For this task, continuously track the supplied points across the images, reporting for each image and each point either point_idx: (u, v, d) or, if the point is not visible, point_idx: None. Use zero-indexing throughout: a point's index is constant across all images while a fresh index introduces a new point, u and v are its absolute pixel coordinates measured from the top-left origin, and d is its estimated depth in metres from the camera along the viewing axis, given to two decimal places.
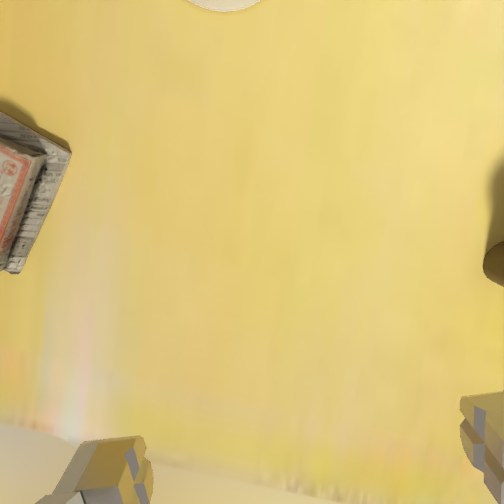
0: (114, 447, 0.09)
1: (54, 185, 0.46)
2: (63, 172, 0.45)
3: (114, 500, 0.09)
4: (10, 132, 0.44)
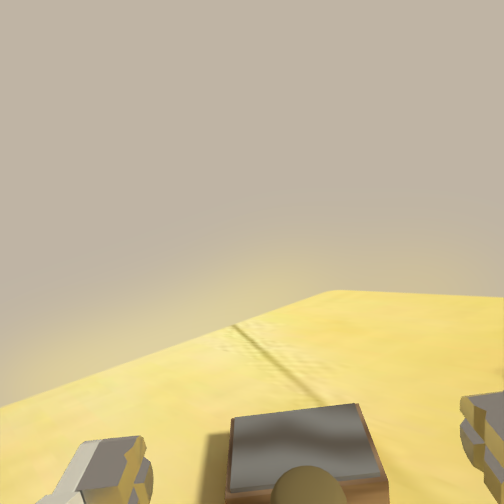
0: (114, 447, 0.09)
1: None
2: None
3: (114, 500, 0.09)
4: None
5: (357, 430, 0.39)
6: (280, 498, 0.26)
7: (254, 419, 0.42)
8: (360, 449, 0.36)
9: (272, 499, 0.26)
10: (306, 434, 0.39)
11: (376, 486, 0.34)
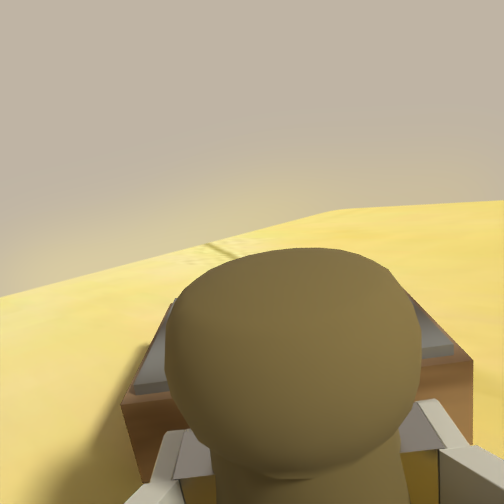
0: None
1: None
2: None
3: (211, 489, 0.08)
4: None
5: None
6: (193, 295, 0.08)
7: None
8: None
9: (171, 311, 0.08)
10: None
11: (446, 374, 0.15)
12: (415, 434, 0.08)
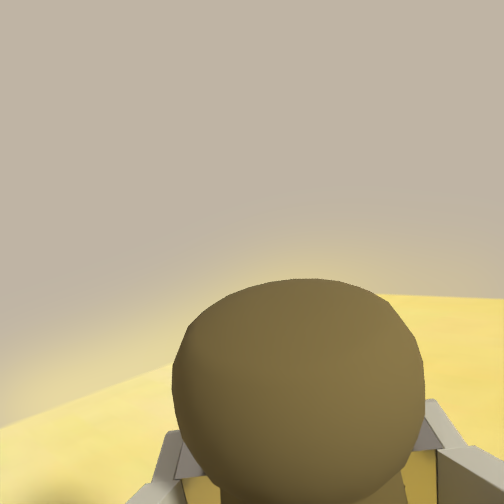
0: None
1: None
2: None
3: (213, 489, 0.08)
4: None
5: None
6: (203, 336, 0.08)
7: None
8: None
9: (178, 351, 0.08)
10: None
11: None
12: None
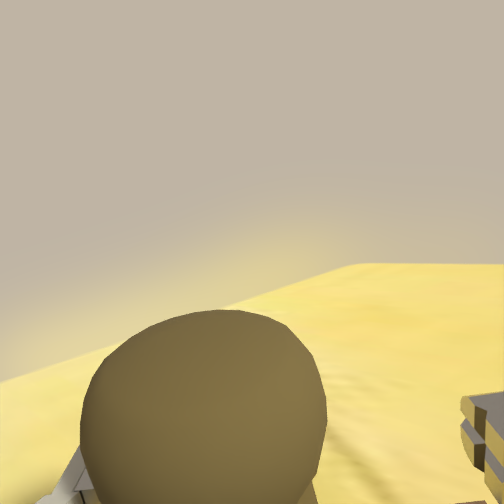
0: None
1: None
2: None
3: None
4: None
5: None
6: (109, 373, 0.08)
7: None
8: None
9: (89, 385, 0.08)
10: None
11: None
12: None
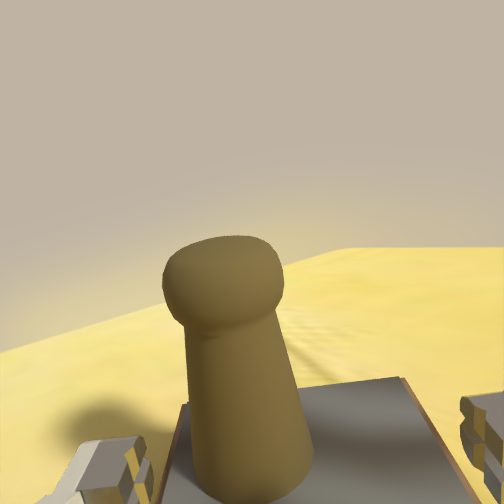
0: (114, 447, 0.09)
1: None
2: None
3: (114, 500, 0.09)
4: None
5: (412, 423, 0.20)
6: (177, 257, 0.16)
7: None
8: (425, 461, 0.18)
9: None
10: (314, 431, 0.21)
11: None
12: None
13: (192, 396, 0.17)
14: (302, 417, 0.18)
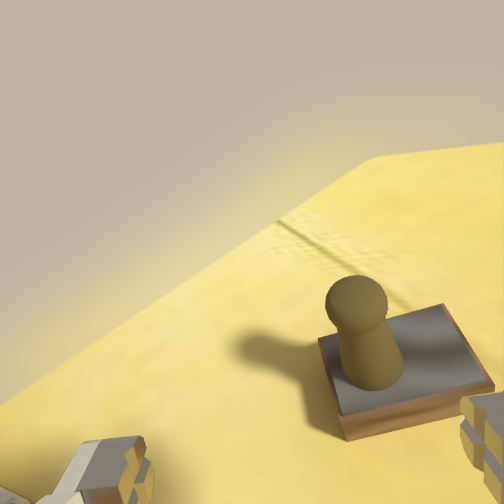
0: (114, 447, 0.09)
1: None
2: None
3: (114, 500, 0.09)
4: None
5: (451, 335, 0.39)
6: (335, 303, 0.33)
7: None
8: (460, 356, 0.37)
9: (328, 306, 0.33)
10: (400, 347, 0.40)
11: (482, 390, 0.35)
12: None
13: (346, 353, 0.36)
14: (397, 348, 0.37)
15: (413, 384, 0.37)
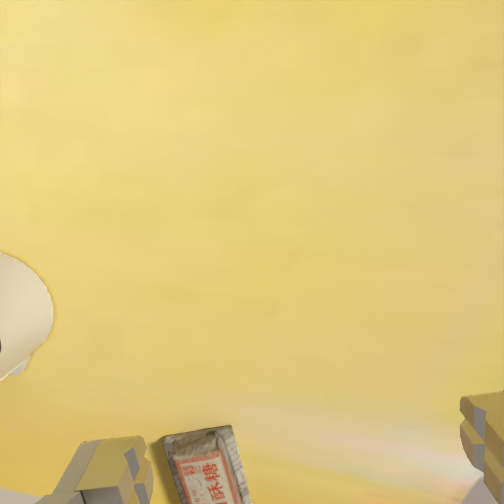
0: (114, 447, 0.09)
1: None
2: None
3: (114, 500, 0.09)
4: None
5: None
6: None
7: None
8: None
9: None
10: None
11: None
12: None
13: None
14: None
15: None
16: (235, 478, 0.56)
